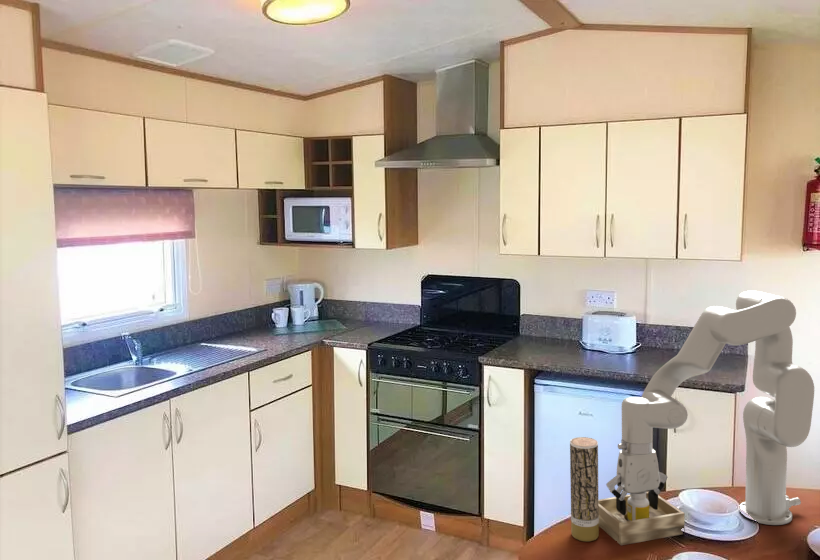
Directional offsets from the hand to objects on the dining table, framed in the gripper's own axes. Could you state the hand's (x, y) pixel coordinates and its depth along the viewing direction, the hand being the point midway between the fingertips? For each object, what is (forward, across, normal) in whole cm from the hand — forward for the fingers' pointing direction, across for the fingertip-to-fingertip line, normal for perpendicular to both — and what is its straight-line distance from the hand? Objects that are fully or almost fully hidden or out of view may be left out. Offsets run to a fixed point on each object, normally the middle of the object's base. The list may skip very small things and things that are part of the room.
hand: (637, 509), depth 178 cm
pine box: (+5, 0, 0) cm, 5 cm away
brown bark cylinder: (+5, -15, 0) cm, 16 cm away
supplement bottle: (+5, 0, 0) cm, 5 cm away
